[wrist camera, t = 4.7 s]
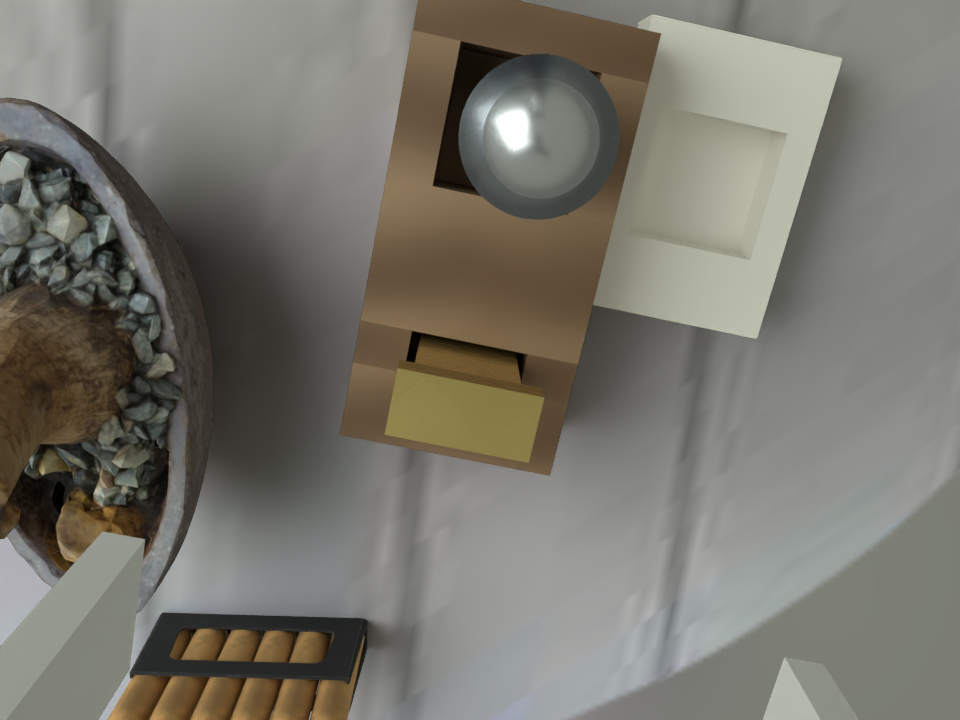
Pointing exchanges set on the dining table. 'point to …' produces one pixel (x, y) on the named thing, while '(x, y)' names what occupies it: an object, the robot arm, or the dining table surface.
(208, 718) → the ammunition clip
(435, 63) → the socket block
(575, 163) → the grey metal cylinder
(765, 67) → the block
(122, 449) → the planter
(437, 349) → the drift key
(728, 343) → the dining table surface
